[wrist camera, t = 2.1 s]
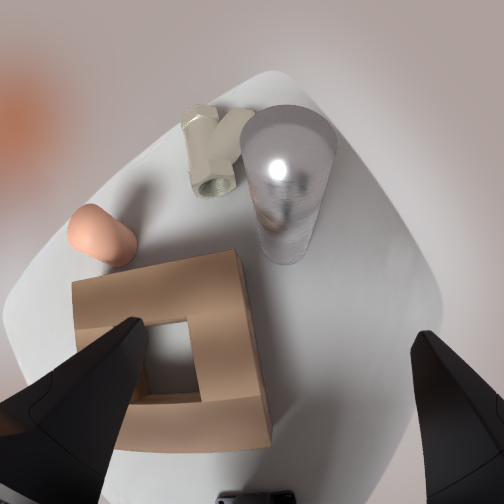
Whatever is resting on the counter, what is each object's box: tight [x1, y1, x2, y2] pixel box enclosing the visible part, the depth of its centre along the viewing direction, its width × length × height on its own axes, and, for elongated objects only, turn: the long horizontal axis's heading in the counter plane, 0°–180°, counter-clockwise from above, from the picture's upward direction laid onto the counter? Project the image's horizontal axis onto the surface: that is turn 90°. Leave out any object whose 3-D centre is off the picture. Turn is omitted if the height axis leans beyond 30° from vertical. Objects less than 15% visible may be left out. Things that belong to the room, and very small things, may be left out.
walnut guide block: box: [72, 249, 272, 453], centre depth 19 cm, size 13×13×4 cm
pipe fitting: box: [180, 105, 255, 199], centre depth 24 cm, size 8×4×7 cm
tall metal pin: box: [240, 105, 337, 265], centre depth 16 cm, size 4×4×13 cm
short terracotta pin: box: [67, 204, 137, 267], centre depth 21 cm, size 4×4×6 cm
